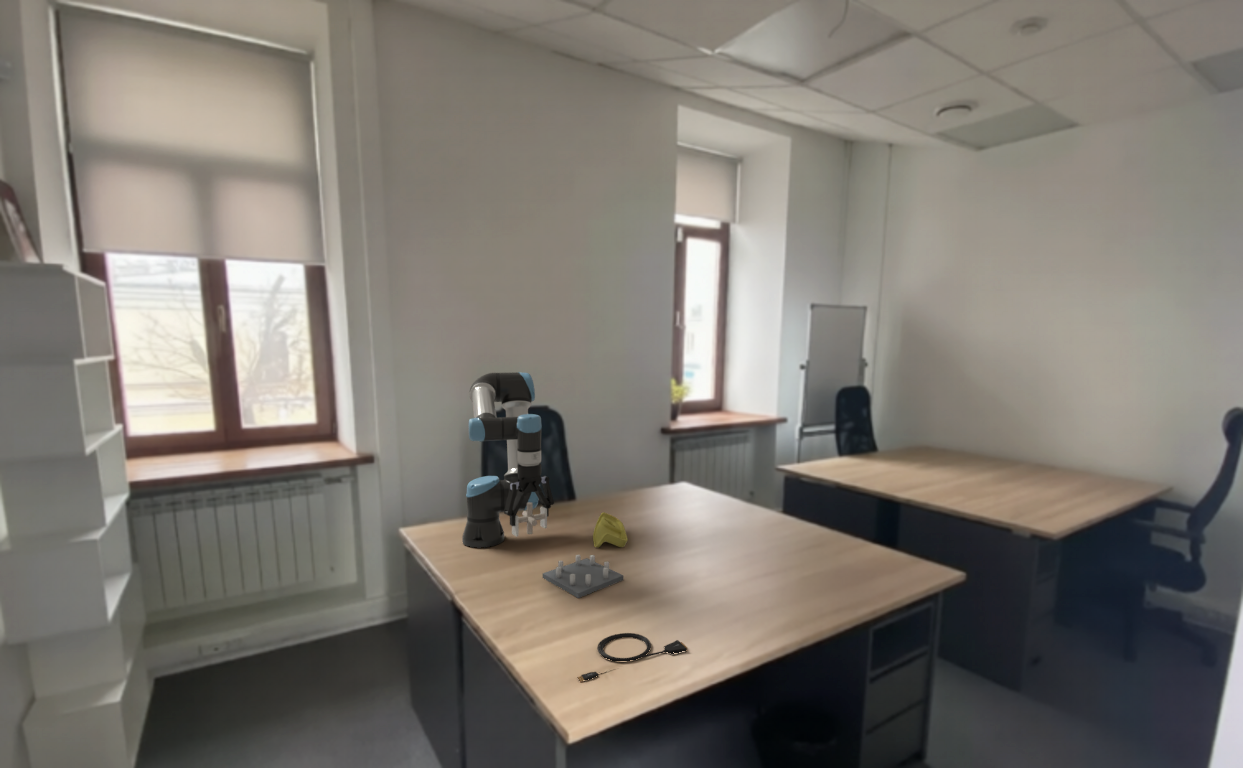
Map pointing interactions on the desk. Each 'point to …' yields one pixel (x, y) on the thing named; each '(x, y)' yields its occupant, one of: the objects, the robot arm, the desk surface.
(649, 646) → the cable
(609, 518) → the plastic component
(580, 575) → the grey peg board
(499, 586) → the desk surface
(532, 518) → the pipe connector
